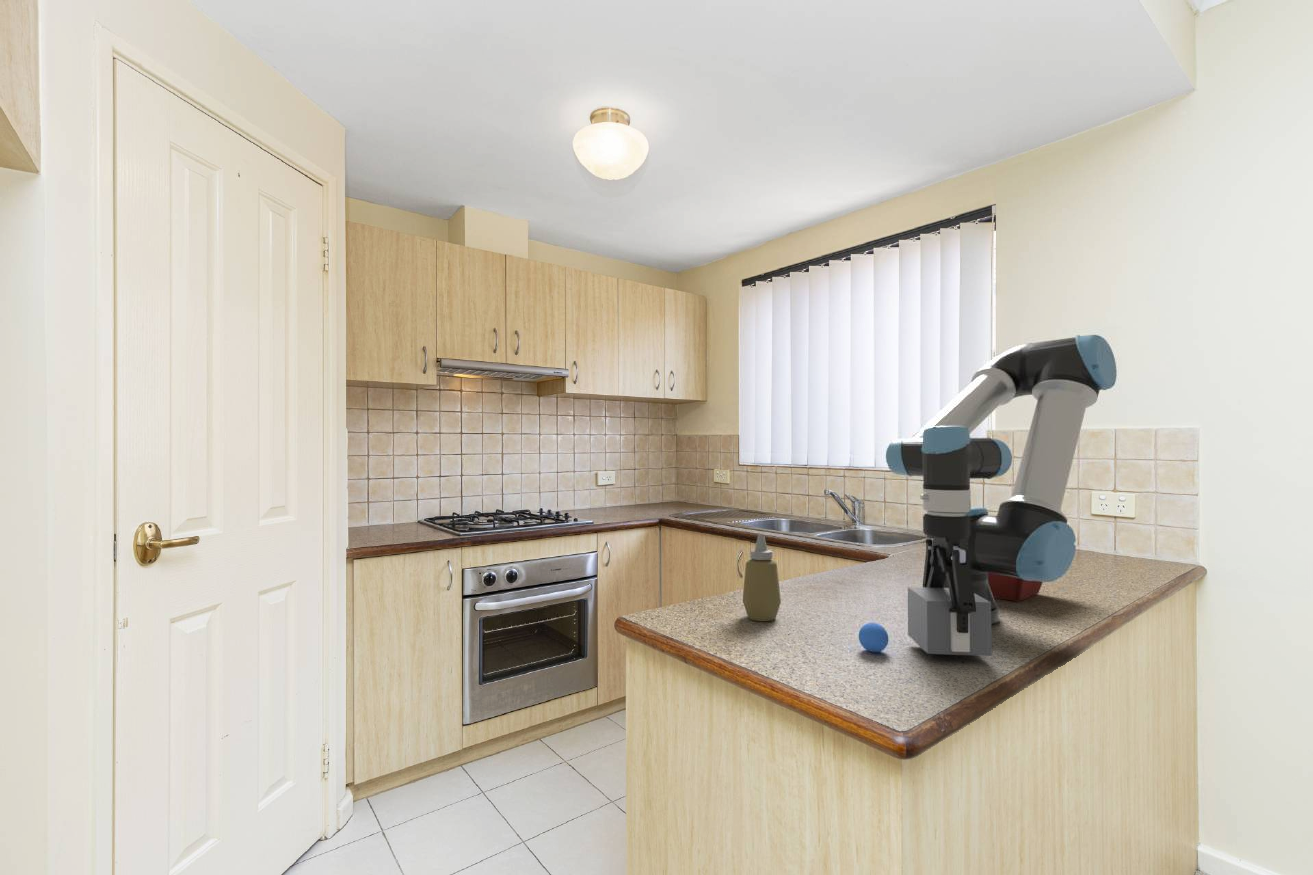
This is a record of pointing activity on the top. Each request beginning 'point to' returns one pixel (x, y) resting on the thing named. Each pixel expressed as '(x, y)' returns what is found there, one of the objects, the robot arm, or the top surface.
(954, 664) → the top surface
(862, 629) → the ball
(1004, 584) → the plant pot
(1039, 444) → the robot arm
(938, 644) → the grey cubic block
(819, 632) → the top surface
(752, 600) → the squeeze bottle
